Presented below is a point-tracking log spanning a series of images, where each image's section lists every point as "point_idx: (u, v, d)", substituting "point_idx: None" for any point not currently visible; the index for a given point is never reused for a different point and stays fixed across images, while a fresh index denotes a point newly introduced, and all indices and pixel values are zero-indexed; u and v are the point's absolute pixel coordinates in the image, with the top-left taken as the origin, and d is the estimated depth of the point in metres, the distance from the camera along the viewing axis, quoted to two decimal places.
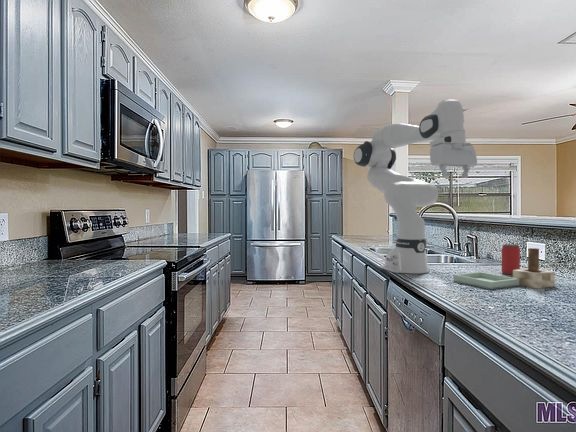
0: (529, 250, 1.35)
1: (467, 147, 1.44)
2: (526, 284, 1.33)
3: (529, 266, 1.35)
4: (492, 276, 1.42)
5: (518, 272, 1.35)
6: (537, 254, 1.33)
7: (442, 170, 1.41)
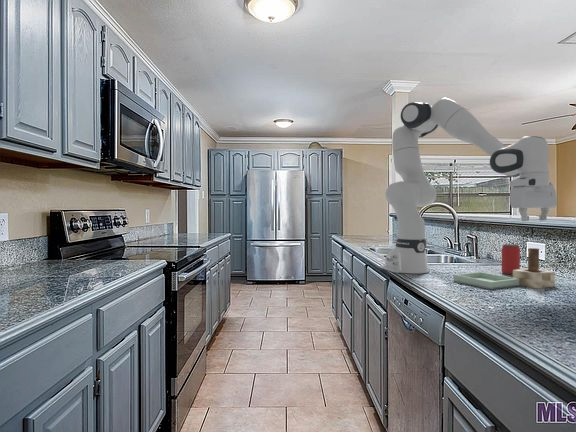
0: (529, 250, 1.35)
1: (548, 188, 1.35)
2: (526, 284, 1.33)
3: (529, 266, 1.35)
4: (492, 276, 1.42)
5: (518, 272, 1.35)
6: (537, 254, 1.33)
7: (522, 213, 1.32)
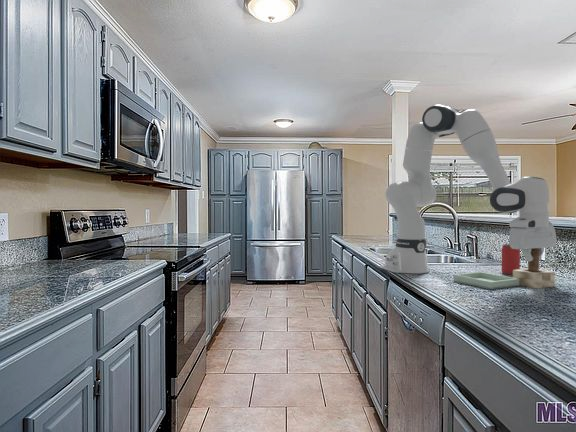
0: None
1: (548, 228, 1.35)
2: (526, 284, 1.33)
3: (529, 266, 1.35)
4: (492, 276, 1.42)
5: (518, 272, 1.35)
6: (537, 254, 1.33)
7: (526, 254, 1.34)
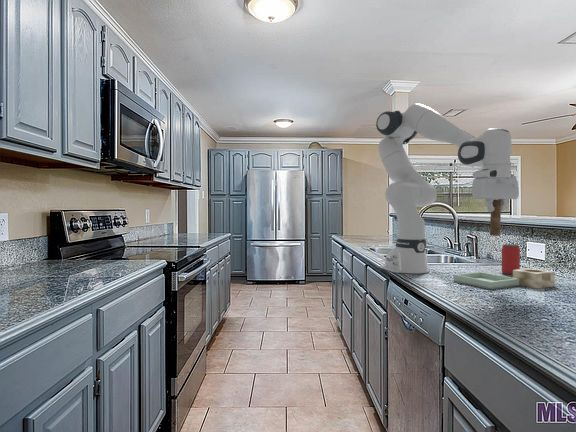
0: None
1: (511, 180, 1.37)
2: (526, 284, 1.33)
3: (491, 217, 1.37)
4: (492, 276, 1.42)
5: (518, 272, 1.35)
6: (499, 205, 1.36)
7: (488, 204, 1.36)
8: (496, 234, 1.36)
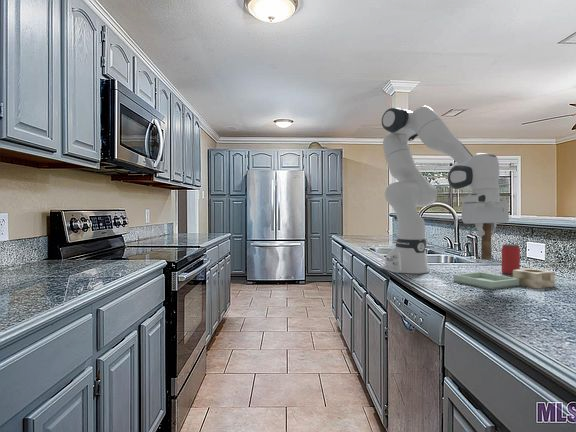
0: None
1: (500, 204, 1.38)
2: (526, 284, 1.33)
3: (482, 241, 1.37)
4: (492, 276, 1.42)
5: (518, 272, 1.35)
6: (489, 229, 1.36)
7: (478, 228, 1.36)
8: (487, 258, 1.36)
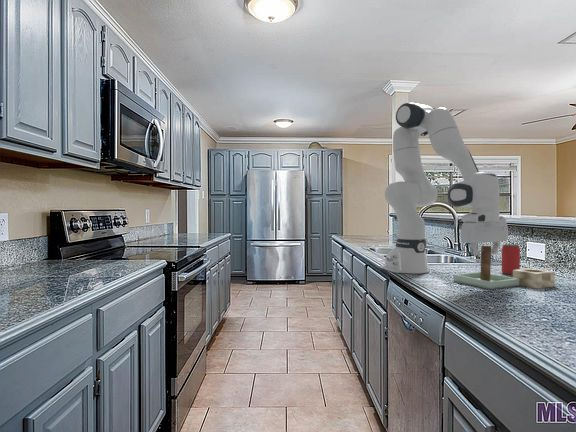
0: (482, 247, 1.38)
1: (500, 223, 1.38)
2: (526, 284, 1.33)
3: (481, 263, 1.38)
4: (492, 276, 1.42)
5: (518, 272, 1.35)
6: (489, 251, 1.36)
7: (473, 248, 1.36)
8: None
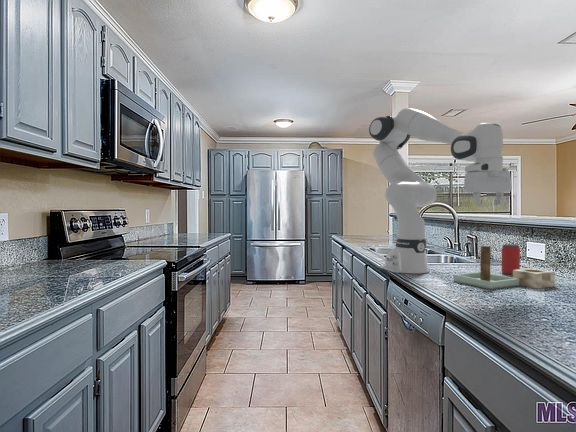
0: (481, 248, 1.38)
1: (503, 173, 1.39)
2: (526, 284, 1.33)
3: (481, 263, 1.38)
4: (492, 276, 1.42)
5: (518, 272, 1.35)
6: (488, 252, 1.36)
7: (475, 198, 1.37)
8: None
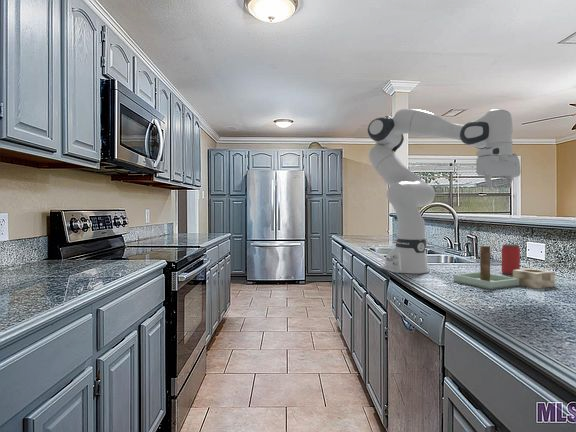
0: (481, 248, 1.38)
1: (512, 158, 1.46)
2: (526, 284, 1.33)
3: (481, 263, 1.38)
4: (492, 276, 1.42)
5: (518, 272, 1.35)
6: (488, 252, 1.36)
7: (487, 181, 1.44)
8: None
